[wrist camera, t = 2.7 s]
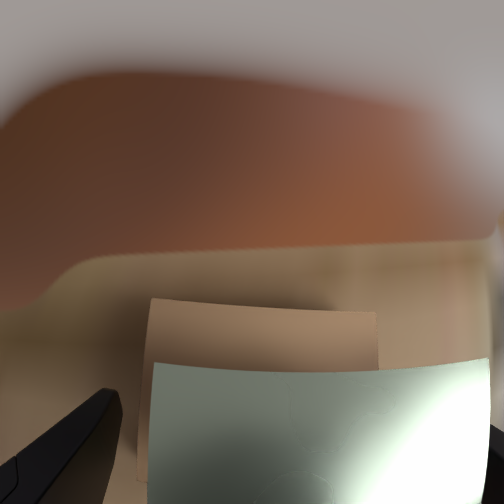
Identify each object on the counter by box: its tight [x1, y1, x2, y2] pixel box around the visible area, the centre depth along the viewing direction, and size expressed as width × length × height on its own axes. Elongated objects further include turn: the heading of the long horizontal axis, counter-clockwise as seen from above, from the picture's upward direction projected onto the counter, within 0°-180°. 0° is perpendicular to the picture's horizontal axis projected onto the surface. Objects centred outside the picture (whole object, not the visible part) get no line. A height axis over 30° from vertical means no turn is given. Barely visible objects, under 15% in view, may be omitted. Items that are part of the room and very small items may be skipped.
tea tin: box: [147, 358, 490, 504], centre depth 7 cm, size 4×5×9 cm
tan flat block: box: [137, 298, 379, 483], centre depth 13 cm, size 8×10×3 cm
